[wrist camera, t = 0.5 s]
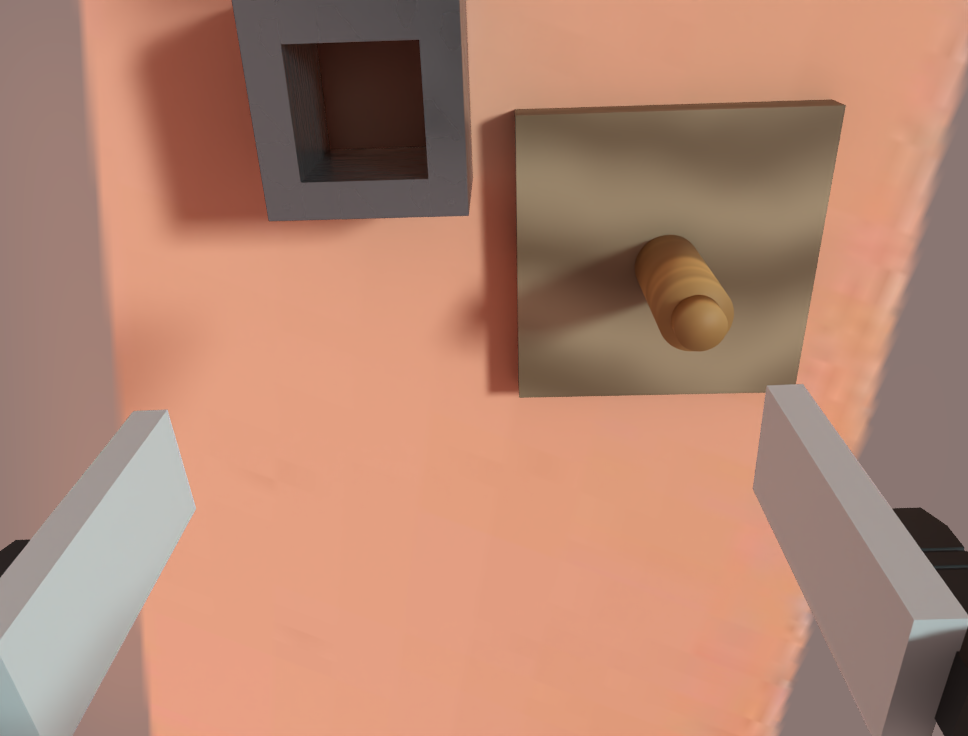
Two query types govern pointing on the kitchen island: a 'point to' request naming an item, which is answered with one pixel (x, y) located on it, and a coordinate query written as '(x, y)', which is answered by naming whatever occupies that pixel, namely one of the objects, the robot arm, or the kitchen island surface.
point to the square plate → (668, 244)
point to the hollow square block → (302, 118)
